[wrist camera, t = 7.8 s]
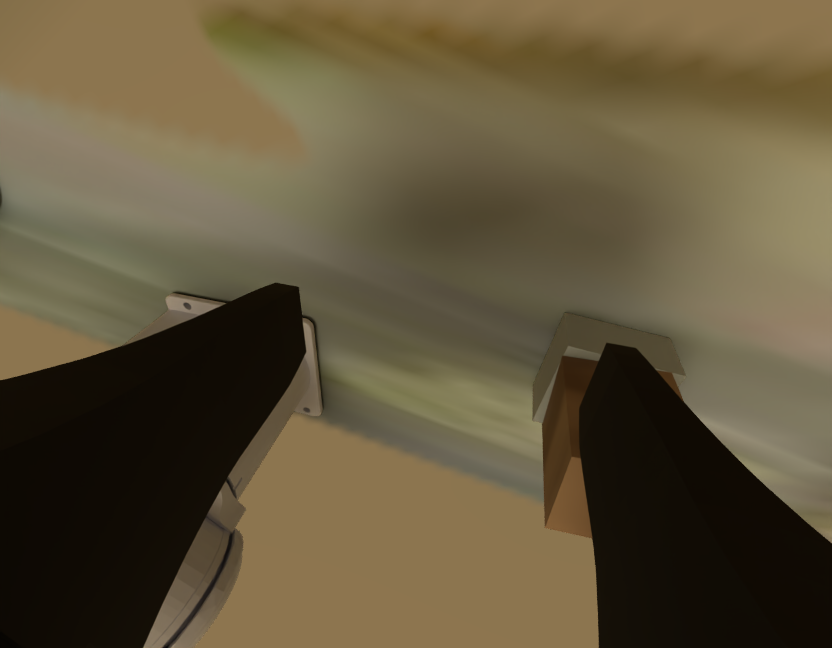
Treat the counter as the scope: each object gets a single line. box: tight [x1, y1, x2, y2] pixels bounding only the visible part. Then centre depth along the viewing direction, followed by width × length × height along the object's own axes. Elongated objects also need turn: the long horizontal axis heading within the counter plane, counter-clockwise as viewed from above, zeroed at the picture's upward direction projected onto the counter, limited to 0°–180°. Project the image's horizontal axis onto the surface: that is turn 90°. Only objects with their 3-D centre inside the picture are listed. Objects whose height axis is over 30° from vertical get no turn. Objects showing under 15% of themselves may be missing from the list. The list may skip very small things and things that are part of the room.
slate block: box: [532, 312, 686, 423], centre depth 21 cm, size 5×5×3 cm
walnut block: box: [542, 356, 684, 538], centre depth 17 cm, size 4×4×6 cm
